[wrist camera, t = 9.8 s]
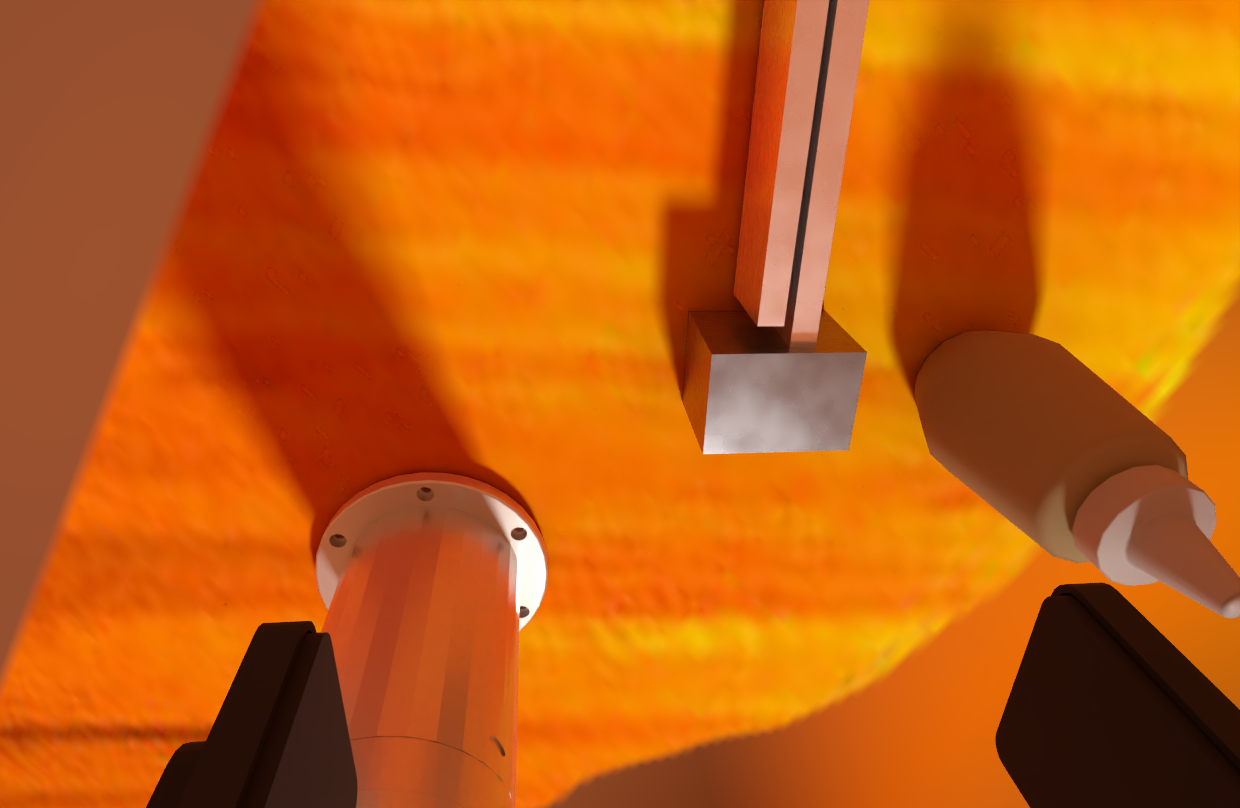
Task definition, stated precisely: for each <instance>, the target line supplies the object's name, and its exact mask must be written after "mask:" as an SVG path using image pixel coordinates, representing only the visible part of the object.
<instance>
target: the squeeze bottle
mask: <svg viewBox="0 0 1240 808" xmlns="http://www.w3.org/2000/svg"><path fill="white" fill-rule="evenodd" d="M914 397H915V400H916V404H917V408H918V412H919V416H920V420H921V424H922V428H923V431H924V434H925V438H926V441H927V444H928V448H929V451H930V454H931V455H932V456H933V457H934V458H935V459H936V460H937V461H938V462H940V463H941V464H942V465H943V466H944V467H945V468H946V469H947V470H948V471H949V472H950V473H952V474H953V475H954V476H955V477H956V478H958V479H959V480H960V481H961V482H963V483H964V484H965V485H966V486H968V487H969V488H970V489H971V490H972V491H974V492H975V493H976V494H977V495H979V496H980V497H981V498H982V499H983V500H985V501H986V502H987V503H988V504H990V505H991V506H992V507H993V508H994V509H996V510H997V511H998V512H999V513H1001V514H1002V515H1003V516H1004V517H1006V518H1007V519H1008V520H1009V521H1010V522H1012V523H1013V524H1014V525H1015V526H1017V527H1018V528H1019V529H1020V530H1021V531H1023V532H1024V533H1025V534H1026V535H1028V536H1029V537H1030V538H1031V539H1032V540H1034V541H1035V542H1036V543H1037V544H1039V545H1040V546H1041V547H1042V548H1043V549H1045V550H1046V551H1047V552H1048V553H1050V554H1051V555H1052V556H1053V557H1057V558H1061V559H1064V560H1068V561H1071V562H1075V563H1082V562H1092V563H1093V564H1094V565H1095V566H1096V567H1097V568H1098V569H1099V570H1100V571H1101V572H1102V573H1103V574H1104V575H1105V576H1106V577H1107V578H1108V579H1109V580H1110V581H1113V582H1117V583H1121V584H1124V585H1128V586H1132V585H1141V584H1151V583H1154V582H1157V581H1161V582H1163V583H1165V584H1166V585H1168V586H1170V587H1172V588H1173V589H1175V590H1177V591H1179V592H1181V593H1182V594H1184V595H1186V596H1188V597H1190V598H1191V599H1193V600H1195V601H1197V602H1198V603H1200V604H1202V605H1204V606H1205V607H1207V608H1209V609H1211V610H1213V611H1214V612H1216V613H1218V614H1220V615H1221V616H1223V617H1227V618H1235V617H1237V616H1240V577H1239V576H1238V575H1237V574H1236V573H1235V571H1234V570H1233V569H1232V568H1231V566H1230V565H1229V564H1228V563H1227V562H1226V561H1225V559H1224V558H1223V557H1222V555H1221V554H1220V553H1219V552H1218V550H1217V549H1216V548H1215V547H1214V546H1213V544H1212V543H1211V542H1210V538H1211V535H1212V533H1213V530H1214V528H1215V525H1216V513H1215V504H1214V503H1213V501H1212V500H1211V499H1210V498H1209V497H1208V495H1207V494H1206V493H1205V492H1204V491H1203V490H1202V489H1200V488H1199V487H1197V486H1196V485H1195V484H1193V483H1192V482H1190V481H1189V480H1188V473H1187V463H1186V455H1185V454H1184V453H1183V452H1182V450H1181V449H1180V448H1179V447H1178V446H1177V444H1176V443H1175V442H1174V441H1173V440H1172V438H1171V437H1170V436H1168V435H1167V434H1166V433H1165V432H1163V431H1162V430H1161V429H1160V428H1159V427H1158V426H1156V425H1155V424H1154V423H1153V422H1152V421H1151V420H1149V419H1148V418H1147V417H1146V416H1145V415H1143V414H1142V413H1141V412H1140V411H1139V410H1137V409H1136V408H1135V407H1134V406H1133V405H1132V404H1130V403H1129V402H1128V401H1127V400H1126V399H1124V398H1123V397H1122V396H1121V395H1120V394H1118V393H1117V392H1116V391H1115V390H1114V389H1112V388H1111V387H1110V386H1109V385H1108V384H1107V383H1105V382H1104V381H1103V380H1102V379H1101V378H1099V377H1098V376H1097V375H1096V374H1095V373H1093V372H1092V371H1091V370H1090V369H1089V368H1088V367H1086V366H1085V365H1084V364H1083V363H1082V362H1080V361H1079V360H1078V359H1077V358H1076V357H1074V356H1073V355H1072V354H1071V353H1070V352H1068V351H1067V350H1066V349H1065V348H1064V347H1063V346H1061V345H1060V344H1058V343H1056V342H1053V341H1050V340H1047V339H1045V338H1042V337H1039V336H1036V335H1033V334H1024V333H1013V332H1003V331H992V330H980V331H967V332H964V333H961V334H959V335H957V336H955V337H952V338H950V339H948V340H946V341H944V342H943V343H942V344H941V345H940V346H939V347H938V348H936V349H935V350H934V351H933V352H932V353H931V354H930V355H929V356H928V357H927V358H926V360H925V362H924V364H923V365H922V367H921V369H920V371H919V372H918V374H917V378H916V384H915V391H914Z"/></svg>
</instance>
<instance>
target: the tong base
mask: <svg viewBox="0 0 1240 808" xmlns="http://www.w3.org/2000/svg"><path fill="white" fill-rule="evenodd" d="M868 5H869V0H829V6H828V13H827V20H826V28H825V35H824V42H823V49H822V56H821V64H820V71H819V78H818V85H817V92H816V100H815V107H814V114H813V121H812V128H811V136H810V143H809V150H808V157H807V164H806V172H805V179H804V186H803V193H802V200H801V208H800V215H799V222H798V229H797V236H796V243H795V251H794V258H793V265H792V272H791V279H790V287H789V294H788V301H787V308H786V315H785V323H784V326H757V325H756V324H755V322H754V321H753V320H752V318H751V317H750V316H749V314H748V313H747V312H746V311H689V314H688V328H687V342H686V356H685V370H684V383H683V397H682V402H683V405H684V407H685V410H686V412H687V415H688V417H689V420H690V422H691V425H692V428H693V430H694V433H695V435H696V438H697V440H698V443H699V445H700V448H701V450H702V453H703V454H727V453H763V452H799V451H834V450H849V445H850V440H851V434H852V429H853V424H854V418H855V413H856V408H857V402H858V397H859V392H860V386H861V381H862V376H863V370H864V365H865V360H866V354H867V352H866V351H865V350H864V349H863V348H862V347H861V346H860V345H859V344H858V343H857V342H856V341H855V340H854V339H853V338H852V337H851V336H850V335H849V334H848V333H847V332H846V331H845V330H844V329H843V328H842V327H841V326H840V325H839V324H838V323H837V322H836V321H835V320H834V319H833V318H832V317H831V316H830V315H829V314H828V313H827V312H826V311H825V310H822V304H823V297H824V291H825V284H826V278H827V271H828V265H829V258H830V252H831V245H832V239H833V232H834V226H835V219H836V213H837V206H838V200H839V193H840V187H841V180H842V174H843V167H844V161H845V154H846V148H847V141H848V135H849V128H850V122H851V115H852V109H853V102H854V96H855V89H856V83H857V76H858V70H859V64H860V57H861V51H862V44H863V38H864V31H865V25H866V18H867V12H868Z"/></svg>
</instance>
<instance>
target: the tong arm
mask: <svg viewBox="0 0 1240 808" xmlns="http://www.w3.org/2000/svg"><path fill="white" fill-rule="evenodd" d="M828 6H829V0H764V8H763V18H762V27H761V37H760V46H759V56H758V65H757V75H756V84H755V94H754V103H753V112H752V122H751V131H750V141H749V150H748V160H747V169H746V179H745V188H744V198H743V207H742V217H741V226H740V236H739V245H738V255H737V264H736V274H735V283H734V293H733V294H734V295H735V297H736V298H737V299H738V301H739V302H740V303H741V305H742V306H743V307H744V309H745V310H746V312H747V313H748V314H749V316H750V317H751V318H752V320H753V321H754V322H755V324H756V325H757V326H784V323H785V315H786V308H787V301H788V294H789V287H790V279H791V272H792V265H793V258H794V251H795V243H796V236H797V229H798V222H799V215H800V208H801V200H802V193H803V186H804V179H805V172H806V164H807V157H808V150H809V143H810V136H811V128H812V121H813V114H814V107H815V100H816V92H817V85H818V78H819V71H820V64H821V56H822V49H823V42H824V35H825V28H826V20H827V13H828Z"/></svg>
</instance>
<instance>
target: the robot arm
mask: <svg viewBox="0 0 1240 808" xmlns="http://www.w3.org/2000/svg"><path fill="white" fill-rule="evenodd" d="M425 487H427V488H425ZM315 575H316V581H317V586H318V591H319V593H320V595H321V598H322V600H323V602H324V604H325V606H326V608H327V609H328V613H327V616H326V619H325V622H324V625H323V628H322V631H321V633H316V630H315V626H314V624H313V623H312V622H311V621H299V622H279V623H263V624H261V625H260V626H259V627H258V629H257V630H256V632H255V634H254V636H253V638H252V641H251V643H250V645H249V647H248V650H247V652H246V654H245V656H244V658H243V661H242V663H241V665H240V667H239V669H238V672H237V674H236V676H235V678H234V680H233V683H232V685H231V687H230V689H229V692H228V694H227V696H226V698H225V700H224V703H223V705H222V707H221V709H220V711H219V714H218V716H217V718H216V720H215V723H214V725H213V727H212V729H211V731H210V734H209V736H208V738H207V740H206V741H201V742H190V743H185V744H183V745H182V746H181V747H180V748H178V749H177V750H176V751H175V753H174V754H173V756H172V758H171V759H170V761H169V762H168V764H167V766H166V768H165V770H164V772H163V774H162V776H161V778H160V780H159V782H158V784H157V786H156V788H155V790H154V792H153V794H152V796H151V799H150V801H149V803H148V805H147V807H146V808H515V796H516V749H517V702H518V655H519V632H520V631H521V630H522V629H523V628H524V627H525V626H526V624H527V623H528V622H529V621H530V620H531V619H532V618H533V616H534V614H535V613H536V611H537V610H538V608H539V606H540V605H541V602H542V599H543V597H544V594H545V591H546V587H547V577H548V562H547V552H546V548H545V544H544V541H543V537H542V535H541V533H540V531H539V530H538V528H537V526H536V524H535V522H534V521H533V519H532V518H531V517H530V516H529V515H528V513H527V512H526V511H525V510H524V509H523V507H522V506H520V505H519V504H518V503H517V502H515V501H514V500H513V499H512V498H510V497H509V496H508V495H507V494H505V493H503V492H502V491H500V490H498V489H496V488H494V487H492V486H491V485H489V484H487V483H484V482H481V481H478V480H475V479H472V478H469V477H466V476H461V475H455V474H449V473H438V472H419V473H412V474H406V475H399V476H395V477H392V478H389V479H386V480H383V481H380V482H377V483H375V484H373V485H371V486H369V487H367V488H366V489H364V490H362V491H360V492H358V493H357V494H355V495H354V496H353V497H352V498H351V499H349V500H348V501H347V502H346V503H345V504H343V505H342V506H341V507H340V509H339V510H338V511H337V512H336V514H335V515H334V516H333V518H332V519H331V520H330V522H329V524H328V526H327V528H326V530H325V532H324V534H323V536H322V539H321V542H320V545H319V548H318V551H317V554H316V566H315ZM996 748H997V752H998V755H999V758H1000V760H1001V762H1002V763H1003V765H1004V767H1005V768H1006V770H1007V772H1008V773H1009V775H1010V776H1011V778H1012V779H1013V781H1014V783H1015V784H1016V785H1017V787H1018V789H1019V791H1020V792H1021V794H1022V795H1023V797H1024V799H1025V800H1026V801H1027V803H1028V805H1029V806H1030V808H1240V710H1239V709H1238V708H1237V707H1236V706H1235V705H1234V704H1233V703H1232V702H1231V701H1230V700H1229V699H1228V698H1227V697H1226V696H1225V695H1224V694H1223V693H1222V692H1221V691H1220V690H1219V689H1218V688H1217V687H1215V685H1214V684H1213V683H1212V682H1211V681H1210V680H1208V678H1207V677H1205V676H1204V675H1203V674H1202V673H1201V672H1200V671H1199V670H1198V669H1197V668H1196V667H1195V666H1194V665H1193V664H1192V663H1191V662H1190V661H1189V660H1188V659H1187V658H1186V657H1185V656H1184V655H1183V654H1182V653H1181V652H1180V651H1179V650H1178V649H1177V648H1176V647H1175V646H1174V645H1172V643H1171V642H1170V641H1169V640H1167V639H1166V638H1165V637H1164V636H1163V635H1162V634H1161V633H1160V632H1159V631H1158V630H1157V629H1156V628H1155V627H1154V626H1153V625H1152V624H1151V623H1150V622H1149V621H1148V620H1147V619H1146V618H1145V617H1144V616H1143V615H1142V614H1141V613H1140V612H1139V611H1138V610H1137V609H1136V608H1135V607H1134V606H1133V605H1132V604H1131V603H1129V601H1128V600H1126V599H1125V598H1124V597H1123V596H1122V595H1121V594H1120V593H1119V592H1118V591H1117V590H1116V589H1114V588H1113V587H1112V586H1110V585H1109V584H1105V583H1086V584H1066V585H1060V586H1058V587H1057V588H1056V589H1054V592H1053V593H1052V595H1051V596H1050V597H1047V598H1046V599H1045V600H1044V601H1043V603H1042V606H1041V608H1040V611H1039V614H1038V617H1037V620H1036V622H1035V625H1034V628H1033V631H1032V634H1031V636H1030V639H1029V642H1028V645H1027V648H1026V651H1025V653H1024V656H1023V659H1022V662H1021V665H1020V668H1019V670H1018V673H1017V676H1016V679H1015V682H1014V684H1013V687H1012V690H1011V693H1010V696H1009V699H1008V701H1007V704H1006V707H1005V710H1004V713H1003V716H1002V718H1001V721H1000V724H999V727H998V730H997V733H996Z"/></svg>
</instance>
